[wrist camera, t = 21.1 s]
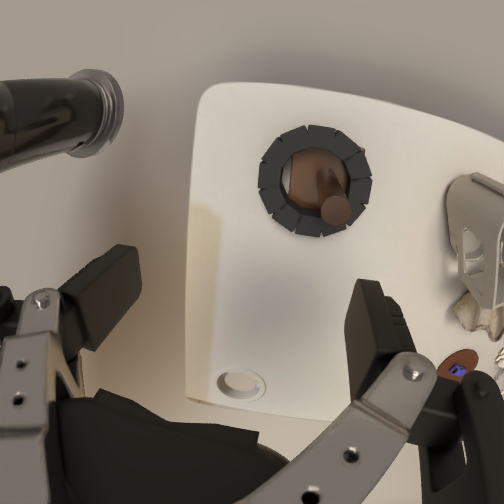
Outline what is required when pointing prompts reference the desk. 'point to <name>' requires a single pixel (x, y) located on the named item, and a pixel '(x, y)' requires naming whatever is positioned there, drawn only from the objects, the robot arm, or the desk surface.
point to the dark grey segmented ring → (290, 211)
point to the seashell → (480, 317)
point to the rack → (320, 184)
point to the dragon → (501, 363)
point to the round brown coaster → (458, 365)
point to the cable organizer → (478, 235)
